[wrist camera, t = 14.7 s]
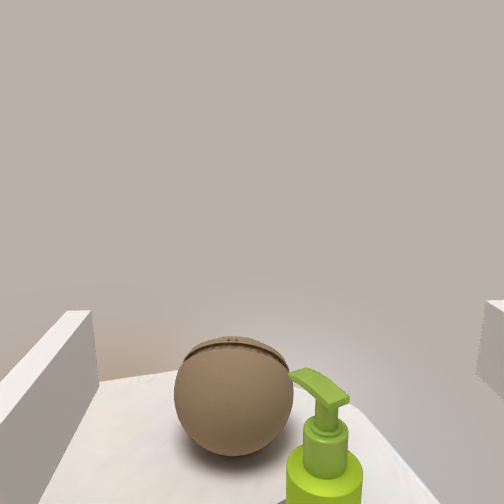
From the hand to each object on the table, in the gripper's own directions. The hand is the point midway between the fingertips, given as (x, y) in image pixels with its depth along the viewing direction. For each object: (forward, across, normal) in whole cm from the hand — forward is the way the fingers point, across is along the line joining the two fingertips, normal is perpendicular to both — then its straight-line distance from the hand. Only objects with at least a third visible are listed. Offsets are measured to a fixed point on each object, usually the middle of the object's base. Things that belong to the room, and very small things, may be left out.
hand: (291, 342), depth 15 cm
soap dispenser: (+16, +5, -32) cm, 36 cm away
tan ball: (+36, -2, -32) cm, 48 cm away
